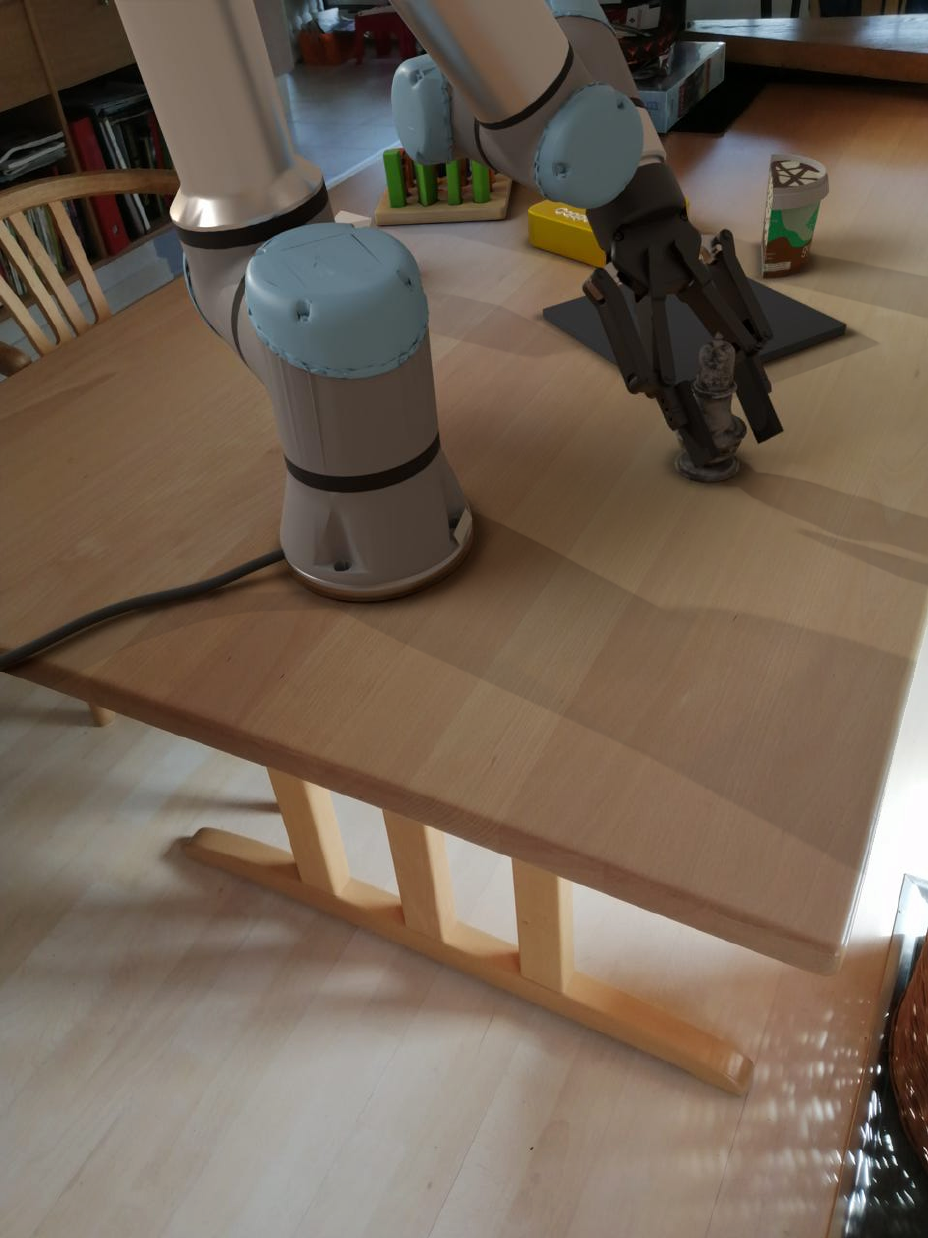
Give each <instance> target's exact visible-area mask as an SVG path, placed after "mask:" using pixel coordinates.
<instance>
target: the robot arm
mask: <svg viewBox="0 0 928 1238" xmlns="http://www.w3.org/2000/svg"><path fill="white" fill-rule="evenodd" d="M387 1H388V2H389V3H390V5H391V6H392V7H393V9H394V10H395V11H396V13H397V14H398V16H399V17H400V19H401V20H402V21H403V22H404V24H405V25H406V26H407V28H408V29H409V30H410V32H411V33H412V34H413V36H414V37H415V38H416V40H417V41H418V43H419V44H420V45H421V47H422V48H423V49H424V50H425V52H426V53H425V54H422V55H418V56H415V57H412V58H408V59H405V60H404V61H402V62H401V63H400V65H399V66H398V67H397V68H396V70H395V73H394V75H393V79H392V84H391V91H390V93H391V94H390V101H391V110H392V111H391V112H392V118H393V123H394V127H395V130H396V133H397V136H398V139H399V141H400V144H401V146H402V148H404V149H405V151H406V153H407V154H408V155H409V157H410V158H411V159H412V160H413V161H415V162H416V163H418V164H420V165H433V164H439V163H445V164H450V163H451V162H452V161H455V160H457V159H461V158H469V159H470V161H471V160H473V161H475V162H477V163H479V164H481V165H483V166H485V167H487V168H489V169H491V170H493V171H495V172H497V173H500V174H503V175H505V176H507V177H509V178H510V179H512V181H514V182H517V184H520V185H522V186H524V187H526V188H528V189H530V190H532V191H534V192H536V193H538V194H540V195H541V196H542V197H543V198H544V199H545V200H547V199H548V200H549V201H552V202H561V203H564V204H567V205H570V206H572V207H575V208H580V209H586V211H585V215H586V217H587V220H588V222H589V224H590V226H591V229H592V231H593V233H594V236H595V238H596V240H597V243H598V245H599V247H600V248H601V249H602V250H603V251H605V254H606V263H605V264H606V266H604V267H603V268H602V267H596V268H595V269H594V271H592V273H590V275H589V276H588V277H587V279H586V280H585V281H584V282H583V283H582V285H581V290H582V292H583V294H584V296H587V297H588V299H589V300H590V301H591V302H592V304H593V305H594V306H595V308H596V309H597V311H598V314H599V316H600V319H601V322H602V324H603V327H604V330H605V332H606V335H607V337H608V340H609V343H610V345H611V348H612V351H613V353H614V356H615V359H616V361H617V364H618V366H619V367H618V366H617V367H618V369H619V372H620V374H621V377H622V379H623V382H624V385H625V387H626V390H627V392H628V393H629V394H630V395H638V394H639V393H641V394H642V393H643V394H644V395H645V396H646V398H648V399H651V400H652V399H656V402H657V404H658V406H659V408H660V410H661V413H662V415H663V417H664V420H665V423H666V425H667V427H668V428H669V429H670V430H671V432H674V431H675V430H679V433H680V435H681V437H682V439H683V442H684V444H685V446H686V449H687V451H688V453H689V456H690V458H691V460H692V463H693V465H694V467H695V469H696V468H699V467H701V466H703V465H705V464H707V463H709V462H710V461H712V460H714V459H716V458H718V457H719V456H720V455H719V452H718V450H717V448H716V445H715V443H714V441H713V438H712V436H711V434H710V431H709V429H708V427H707V424H706V422H705V420H704V418H703V415H702V413H701V411H700V408H699V406H698V404H697V401H696V399H695V397H694V396H695V393H694V392H693V391H692V389H691V387H690V385H689V383H688V380H685V381H682V382H679V383H678V384H677V385H676V384H675V381H676V373H675V367H674V360H673V353H672V347H671V340H670V334H669V327H668V320H667V314H666V307H665V300H666V296H667V294H675V295H676V296H677V298H678V299H679V300H680V301H681V302H682V303H686V304H688V306H689V307H690V308H691V310H692V311H693V312H694V314H695V315H696V316H697V317H698V319H699V320H700V321H701V323H702V324H703V325H704V327H705V328H706V329H707V331H708V332H709V333H710V335H711V336H712V337H713V338H714V336H715V335H716V334H717V333H718V332H720V333H721V334H722V336H723V338H722V339H721V340H723V341H726V342H728V343H730V344H731V345H732V346H733V348H734V349H735V364H734V365H735V366H734V373H733V380H734V381H735V382H736V384H737V389H736V391H735V392H734V393H735V395H736V397H737V399H738V401H739V404H740V407H741V409H742V411H743V413H744V416H745V418H746V421H747V423H748V425H749V428H750V430H751V431H752V435H753V436H754V439H755V441H756V443H757V445H759V444H762V443H765V442H767V441H768V440H770V439H772V438H774V437H776V436H777V435H779V434H781V433H783V432H785V429H784V427H783V425H782V423H781V421H780V418H779V416H778V414H777V411H776V410H775V407H774V404H773V402H772V399H771V398H770V395H769V394H771V393H772V392H773V388H772V383H771V381H770V379H769V376H768V374H767V372H766V370H765V366H764V365H763V363H762V362H761V360H760V357H759V352H760V351H762V350H763V349H764V346H765V345H766V344H767V343H768V342H769V341H771V340H772V339H773V335H774V334H773V331H772V329H771V327H770V325H769V323H768V321H767V319H766V317H765V315H764V313H763V310H762V308H761V306H760V304H759V302H758V300H757V298H756V296H755V294H754V292H753V290H752V288H751V286H750V284H749V282H748V279H747V277H748V276H746V273H745V271H744V269H743V267H742V265H741V263H740V261H739V258H738V257H737V253H736V247H735V239H734V235H733V232H732V231H731V230H729V229H727V228H723V229H722V230H720V231H719V233H717V234H701V232H700V231H699V229H698V228H697V227H696V226H695V225H694V224H693V223H692V222H691V220H690V218H689V219H688V216H687V208H686V200H685V197H686V196H685V195H684V193H683V190H682V188H681V186H680V183H679V181H678V178H677V176H676V174H675V172H674V170H673V167H672V166H671V165H669V164H667V163H666V161H667V152H666V150H665V147H664V145H663V143H662V141H661V139H660V136H659V134H658V132H657V130H656V127H655V125H654V123H653V121H652V119H651V116H650V115H649V112H648V111H647V109H646V106H645V103H644V102H643V99H642V96H641V95H640V92H639V89H638V87H637V84H636V82H635V80H634V77H633V75H632V72H631V69H630V68H629V66H628V62H627V60H626V58H625V55H624V52H623V50H622V48H621V46H620V45H621V44H620V43H619V40H618V35H617V33H616V31H615V28H614V27H613V25H611V24H610V21H609V19H608V17H607V15H606V14H605V12H604V10H603V8H602V6H601V5H600V3H599V1H598V0H387ZM114 3H115V6H116V8H117V11H118V15H119V18H120V20H121V23H122V26H123V28H124V31H125V33H126V36H127V39H128V42H129V45H130V47H131V50H132V53H133V56H134V58H135V61H136V64H137V67H138V69H139V72H140V74H141V77H142V80H143V83H144V87H145V89H146V91H147V92H146V93H147V95H148V97H149V100H150V103H151V105H152V108H153V111H154V114H155V116H156V119H157V121H158V124H159V128H160V130H161V132H162V135H163V138H164V140H165V143H166V146H167V149H168V152H169V154H170V157H171V160H172V163H173V166H174V169H175V172H176V174H177V177H178V179H179V182H180V184H179V185H180V186H179V188H178V190H177V193H176V195H175V196H174V199H173V201H172V203H171V206H170V209H169V216H170V219H171V221H172V224H173V227H174V229H175V232H176V235H177V237H178V240H179V243H180V245H181V248H182V251H183V253H182V267H183V276H184V279H185V283H186V287H187V290H188V294H189V296H190V298H191V301H192V304H193V305H194V307H195V309H196V310H197V313H198V314H199V316H200V317H201V319H202V320H203V321H204V322H205V324H206V325H207V326H208V328H210V330H212V332H214V333H215V335H217V336H218V337H219V338H221V339H222V340H223V341H224V342H226V344H227V345H228V346H229V348H231V350H232V351H233V352H234V353H235V354H236V356H237V357H238V358H239V359H240V360H241V361H242V362H243V363H244V365H245V366H246V367H247V368H248V369H249V370H250V371H251V373H252V374H253V375H254V377H256V378H257V379H258V381H259V382H260V383H261V384H262V386H264V388H265V390H266V392H267V395H268V397H269V400H270V403H271V406H272V411H273V415H274V419H275V423H276V428H277V433H278V437H279V442H280V445H281V449H282V453H283V457H284V462H285V466H286V473H287V474H286V480H285V490H284V495H283V503H282V511H281V518H280V524H279V525H280V526H279V544H280V547H279V548H278V549H275V550H273V551H270V552H268V553H265V554H263V555H260V556H259V557H256V558H254V559H251V560H249V561H247V562H244V563H242V564H240V565H238V566H235V567H234V568H232V569H230V570H227V571H225V572H223V573H221V574H219V575H216V576H213V577H210V578H207V579H204V580H201V581H198V582H194V583H191V584H188V585H184V586H183V585H182V586H179V587H175V588H171V589H166V590H162V591H156V592H152V593H148V594H144V595H140V596H135V597H132V598H128V599H125V600H121V601H118V602H115V603H112V604H109V605H106V606H104V607H101V608H98V609H95V610H93V611H91V612H89V613H86V614H83V615H82V616H80V617H77V618H75V619H73V620H71V621H69V622H67V623H65V624H63V625H61V626H59V627H57V628H55V629H52V630H51V631H49V632H47V633H45V634H43V635H41V636H39V637H36V638H35V639H33V640H31V641H29V642H27V643H25V644H23V645H20V646H19V647H15V648H13V649H11V650H8V651H6V652H3V653H0V669H2V668H4V667H8V666H10V665H12V664H14V663H17V662H19V661H21V660H23V659H26V658H29V657H31V656H32V655H34V654H37V653H39V652H41V651H43V650H45V649H46V648H47V649H48V647H51V646H53V645H54V644H56V643H58V642H61V641H62V640H64V639H66V638H68V637H71V636H72V635H74V634H76V633H78V632H80V631H82V630H84V629H86V628H88V627H90V626H93V625H96V624H97V623H100V622H103V621H105V620H108V619H110V618H113V617H116V616H120V615H122V614H126V613H129V612H133V611H136V610H140V609H144V608H147V607H152V606H156V605H161V604H165V603H171V602H174V601H179V600H183V599H187V598H191V597H195V596H199V595H203V594H204V593H208V592H212V591H215V590H217V589H220V588H222V587H225V586H227V585H229V584H231V583H233V582H235V581H238V580H240V579H242V578H244V577H246V576H249V575H251V574H252V573H255V572H257V571H259V570H262V569H265V568H266V567H269V566H271V565H274V564H276V563H278V562H280V561H281V562H282V561H283V562H284V565H285V567H286V570H287V571H288V573H289V574H290V575H291V576H292V578H293V579H294V580H295V581H296V582H297V583H298V584H300V585H301V586H302V587H304V588H306V589H307V590H309V591H310V592H313V593H315V594H317V595H321V596H323V597H327V598H330V599H335V600H340V601H350V602H375V601H376V602H377V601H385V600H391V599H396V598H400V597H404V596H409V595H411V594H414V593H417V592H419V591H423V590H424V589H427V588H429V587H430V586H433V585H434V584H436V583H438V582H440V581H442V580H443V579H445V578H446V577H448V575H450V574H451V573H453V572H454V570H456V569H457V568H458V567H459V566H460V565H461V564H462V562H463V561H464V560H465V558H466V557H467V555H468V554H469V552H470V550H471V547H472V545H473V540H474V527H473V526H474V525H473V517H472V516H473V514H472V510H471V507H470V505H469V502H468V499H467V496H466V494H465V492H464V490H463V488H462V487H461V485H460V482H459V480H458V479H457V476H456V475H455V472H454V470H453V468H452V467H451V465H450V462H449V460H448V459H447V456H446V454H445V453H444V450H443V449H442V444H441V436H440V427H439V419H438V418H439V417H438V416H439V415H438V407H437V399H436V389H435V387H436V386H435V378H434V377H435V376H434V369H433V359H432V349H431V348H432V347H431V337H430V328H429V322H430V320H429V319H430V317H429V316H430V311H429V303H428V296H427V295H426V292H425V289H424V286H423V282H422V276H421V271H420V267H419V265H418V263H417V260H416V258H415V257H414V255H413V253H412V252H411V251H410V249H409V248H408V247H407V246H406V245H405V244H404V243H403V242H401V241H400V240H399V239H398V238H396V237H395V236H393V235H392V234H390V233H388V232H386V231H384V230H381V229H380V230H378V229H376V228H372V227H369V226H364V227H362V228H355V227H354V225H353V224H352V223H336V222H335V219H334V218H335V216H334V211H333V207H332V204H331V200H330V197H329V192H328V189H327V185H326V181H325V178H324V175H323V171H322V169H321V168H320V167H319V166H318V165H316V164H315V163H313V162H312V161H309V160H308V159H307V158H305V157H303V156H301V155H300V154H298V153H297V151H296V150H295V146H294V143H293V139H292V135H291V131H290V128H289V125H288V121H287V118H286V115H285V114H286V113H285V111H284V107H283V103H282V100H281V96H280V92H279V89H278V86H277V85H278V84H277V82H276V78H275V75H274V71H273V68H272V63H271V61H270V56H269V53H268V49H267V45H266V42H265V38H264V36H263V31H262V29H261V25H260V24H261V23H260V20H259V18H258V14H257V10H256V6H255V3H254V0H114ZM684 196H685V197H684ZM700 255H701V256H702V258H701V259H702V262H701V261H700ZM702 263H703V264H705V265H706V264H707V266H708V270H709V272H708V270H707V269H706V268H705V266H704V265H703V264H702ZM712 280H713V283H714V285H715V287H716V288H715V287H714V285H713V284H712V282H711V281H712ZM692 281H694V282H693V284H692V285H691V286H689V285H688V284H690V283H691V282H692ZM620 284H623V285H625V286H626V287H627V288H629V289H630V290H631V296H632V303H633V309H634V313H635V314H636V315H637V316H638V322H639V329H640V336H641V340H640V337H639V335H638V332H637V329H636V327H635V324H634V321H633V319H632V316H631V313H630V311H629V308H628V306H627V303H626V300H625V298H624V295H623V293H622V291H621V290H620V288H619V285H620ZM714 340H716V339H715V338H714Z"/></svg>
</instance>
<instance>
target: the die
mask: <svg viewBox="0 0 928 1238" xmlns="http://www.w3.org/2000/svg"><path fill="white" fill-rule="evenodd" d="M334 219H335V222H336V223H352V224H353V225H354V227H355V228H362V227H364V226H369V227H372V228H376V229H378V230H381V229H380V227H379V225H377V224H376V221H374V219H373V218H371V217H367V216H364V215H360V214H356V213H352V212H349V211H345V210H341V209H340V210H339V212H338V213H337V214H336V215H335V216H334Z"/></svg>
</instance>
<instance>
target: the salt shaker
mask: <svg viewBox="0 0 928 1238" xmlns="http://www.w3.org/2000/svg"><path fill="white" fill-rule="evenodd" d="M714 338H715V339H716V340H714V341H710V342H708V343H706V344H704V345H703V346H702V347H701V349H700V351H699V358H698V371H697V379H696V380H694V381H693V383H692V385H691V388H692V389H691V390H692V392H693V394H694V397H695V399H696V401H697V404H698V406H699V408H700V411H701V413H702V415H703V418H704V420H705V422H706V424H707V427H708V429H709V431H710V434H711V436H712V438H713V441H714V443H715V445H716V448H717V450H718V452H719V455H720V456H719V457H718V458H716V459H714V460H712V461H710V462H709V463H707V464H705V465H703V466H701V467H699V468H696V469H695V467H694V465H693V463H692V460H691V458H690V456H689V453H688V451H687V449H686V446H685V444H684V442H683V439H682V437H681V435H680V433H679V430H675V431H673V432H674V435H675V436H676V439H677V442H678V445H679V447H680V449H681V451H682V452H681V453H679V454H678V455H677V457H676V459H675V461H674V462H675V464H674V466H675V469H676V471H677V472H678V473H679V474H680V475H682V476H683V477H685V478H686V479H689V480H692V481H695V482H701V483H714V482H715V483H716V482H721V481H725V480H728V479H730V478H732V477H733V476H734V475H736V474H737V473H738V470H740V462H739V460H738V458H737V457H736V456H735V455H734V454H736V452H737V450H738V448H739V447H740V446H741V444H742V442H743V440H744V438H745V437H746V436H747V433H748V427H747V424H746V422H745V421H744V420H742V419H741V418H740V417H739V416H737V415H736V414H734V413H732V400H733V394H734V393H736V392H735V391H736V389H737V384H736V382H735V381H734V380H733V373H734V364H735V349H734V348H733V346H732V345H731V344H730V343H728V342H726V341H723V340H721V339H722V338H723V336H722V334H721V333H720V332H718V333H717V334H716V335H715V336H714Z"/></svg>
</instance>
